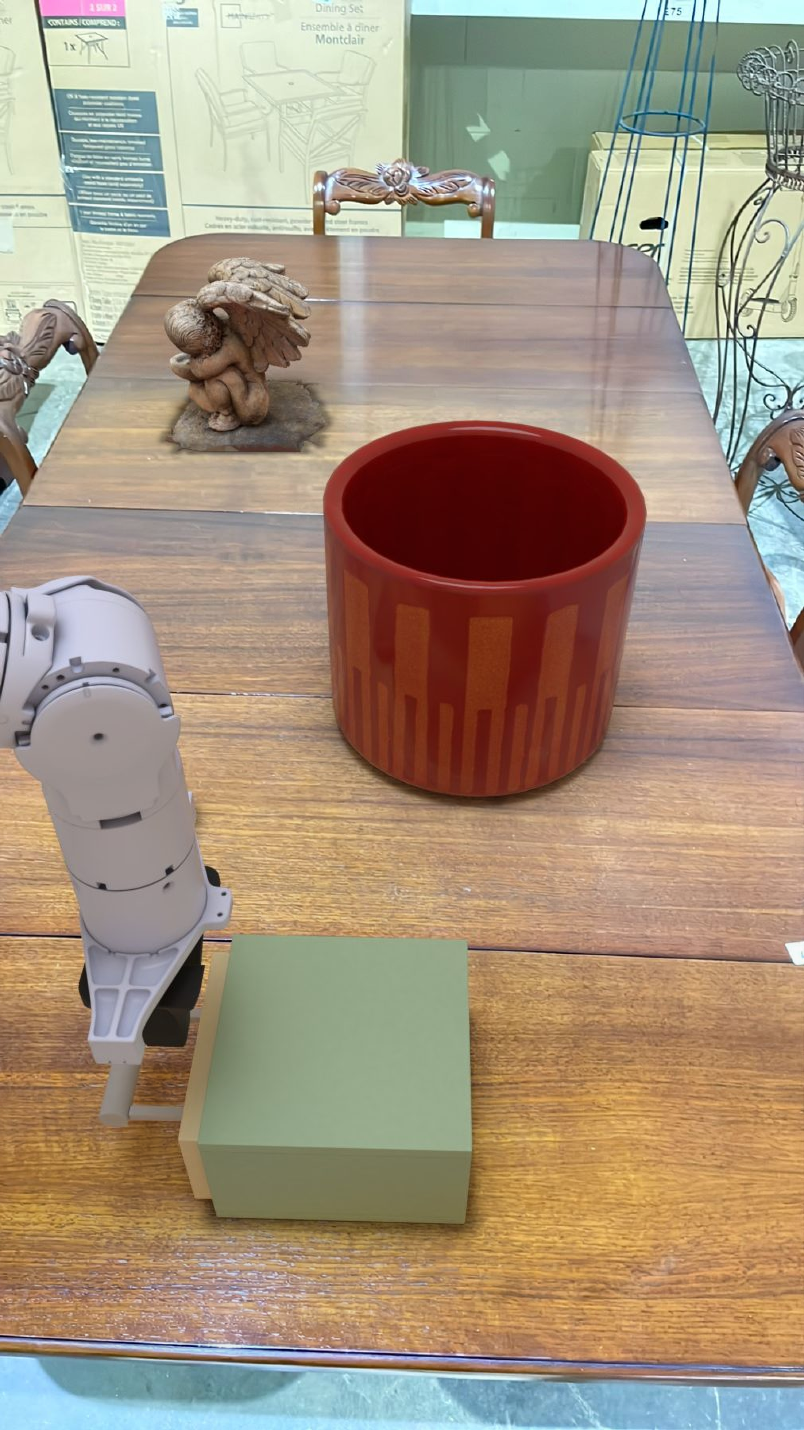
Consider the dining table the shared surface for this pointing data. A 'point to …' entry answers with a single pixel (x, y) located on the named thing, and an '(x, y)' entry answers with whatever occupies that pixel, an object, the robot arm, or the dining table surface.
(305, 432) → the cherub figurine
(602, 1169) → the dining table surface
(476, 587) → the planter
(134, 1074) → the drawer
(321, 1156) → the cabinet
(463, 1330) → the dining table surface
